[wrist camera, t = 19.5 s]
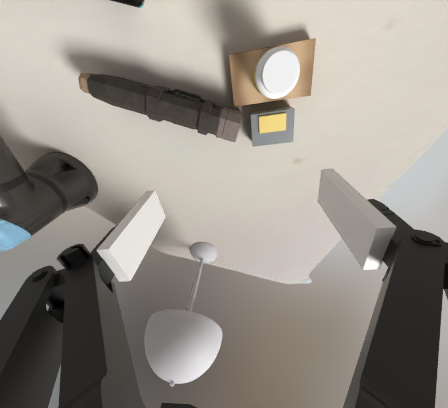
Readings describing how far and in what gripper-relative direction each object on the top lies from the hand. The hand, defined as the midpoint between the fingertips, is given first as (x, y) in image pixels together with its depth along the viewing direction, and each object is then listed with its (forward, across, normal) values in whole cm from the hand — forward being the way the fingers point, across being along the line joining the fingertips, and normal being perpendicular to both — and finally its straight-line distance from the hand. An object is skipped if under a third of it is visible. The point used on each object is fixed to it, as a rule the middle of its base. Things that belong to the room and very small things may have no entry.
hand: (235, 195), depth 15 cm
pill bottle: (+28, +7, +8) cm, 30 cm away
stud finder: (+30, +7, -1) cm, 31 cm away
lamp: (+31, -16, -38) cm, 51 cm away
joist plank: (+30, +7, +8) cm, 32 cm away
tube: (+31, -13, +6) cm, 34 cm away
